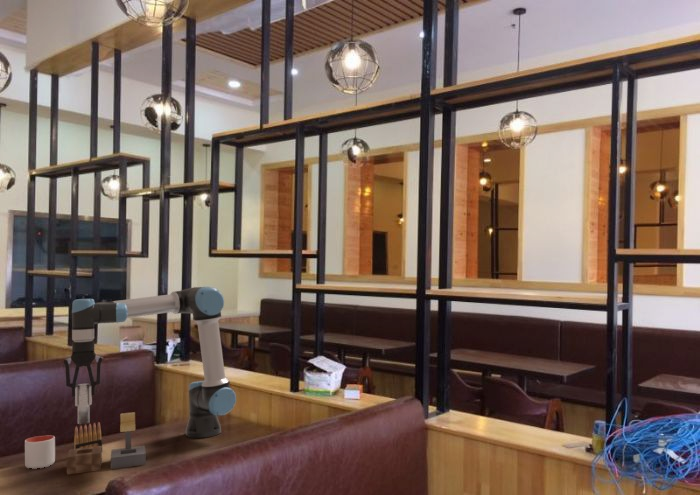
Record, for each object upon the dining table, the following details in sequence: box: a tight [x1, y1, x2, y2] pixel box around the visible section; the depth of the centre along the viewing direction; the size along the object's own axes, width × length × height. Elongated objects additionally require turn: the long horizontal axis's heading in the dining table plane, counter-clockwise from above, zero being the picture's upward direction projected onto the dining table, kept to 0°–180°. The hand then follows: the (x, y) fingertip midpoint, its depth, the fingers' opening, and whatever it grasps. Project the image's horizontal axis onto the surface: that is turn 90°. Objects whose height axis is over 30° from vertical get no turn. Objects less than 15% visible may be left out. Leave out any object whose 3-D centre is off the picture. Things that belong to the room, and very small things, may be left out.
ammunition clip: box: [73, 421, 103, 449], centre depth 239 cm, size 11×2×12 cm, turn 135°
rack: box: [66, 445, 103, 475], centre depth 221 cm, size 11×11×6 cm
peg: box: [77, 383, 91, 425], centre depth 222 cm, size 4×4×14 cm
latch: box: [119, 411, 136, 433], centre depth 219 cm, size 5×10×4 cm, turn 20°
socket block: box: [110, 431, 147, 470], centre depth 227 cm, size 12×12×14 cm
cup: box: [24, 434, 56, 470], centre depth 226 cm, size 10×10×10 cm
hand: (83, 404), depth 222 cm, fingers closed on peg, 4 cm apart
